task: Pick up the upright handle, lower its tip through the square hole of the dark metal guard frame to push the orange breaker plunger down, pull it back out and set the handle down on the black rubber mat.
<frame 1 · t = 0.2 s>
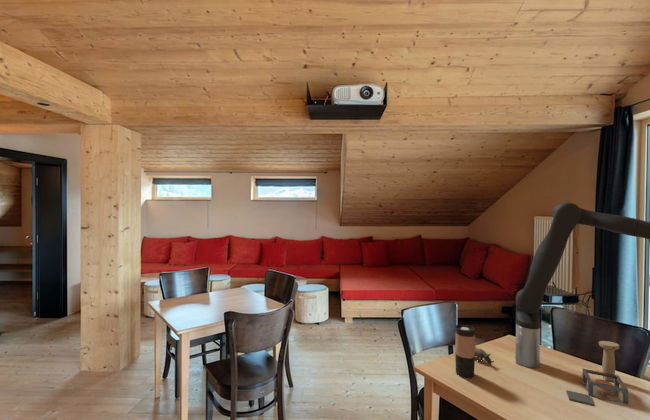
rubber mat: (579, 398, 117), on the table
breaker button: (603, 384, 120), point 3 cm above the table, slide at 0.0 cm
rhino figurine: (479, 361, 145), on the table
travel mug: (464, 374, 134), on the table
handle: (608, 380, 129), on the table
guard frame: (603, 392, 120), on the table
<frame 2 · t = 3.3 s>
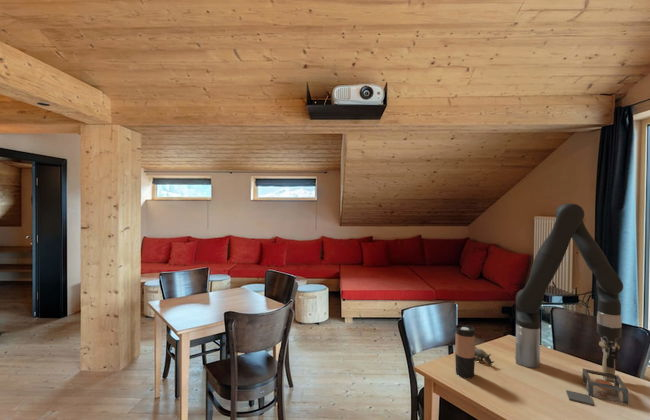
hand: (608, 364, 129), 6 cm above the table, fingers closed on handle, 4 cm apart
handle: (608, 380, 129), on the table, touching gripper
everything else where it was.
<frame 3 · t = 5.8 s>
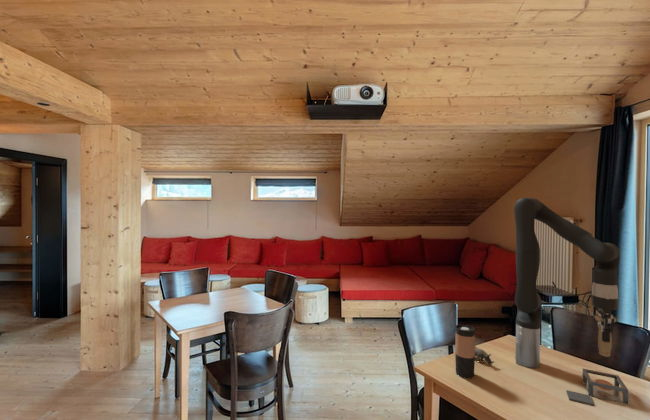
hand: (604, 339, 120), 20 cm above the table, fingers closed on handle, 4 cm apart
handle: (604, 355, 120), point 14 cm above the table, touching gripper
everything else where it was.
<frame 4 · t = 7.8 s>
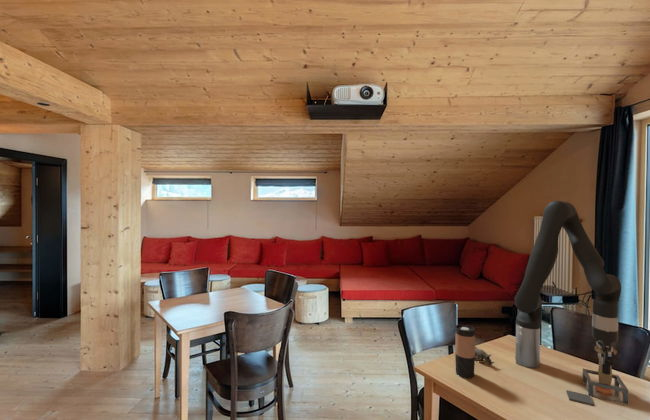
hand: (604, 370, 120), 8 cm above the table, fingers closed on handle, 4 cm apart
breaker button: (603, 388, 120), point 1 cm above the table, slide at -1.6 cm, touching guard frame, handle
handle: (604, 387, 120), point 2 cm above the table, touching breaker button, gripper
everything else where it was.
when the fingers open (8 cm above the table, at t = 13.4 s): handle drops 1 cm, resting on rubber mat.
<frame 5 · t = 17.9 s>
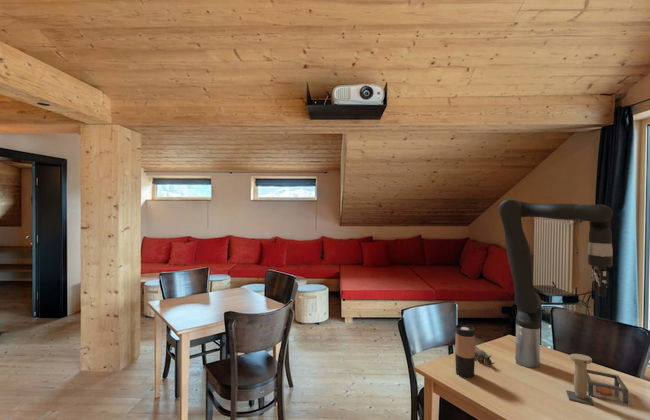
hand: (599, 293, 127), 36 cm above the table, fingers open, 8 cm apart
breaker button: (603, 388, 120), point 1 cm above the table, slide at -1.6 cm, touching guard frame
handle: (580, 397, 117), resting on rubber mat
everything else where it was.
at the end: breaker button slide at -1.6 cm; handle 0.3 cm from the rubber mat (horizontally); the gripper is holding nothing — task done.
